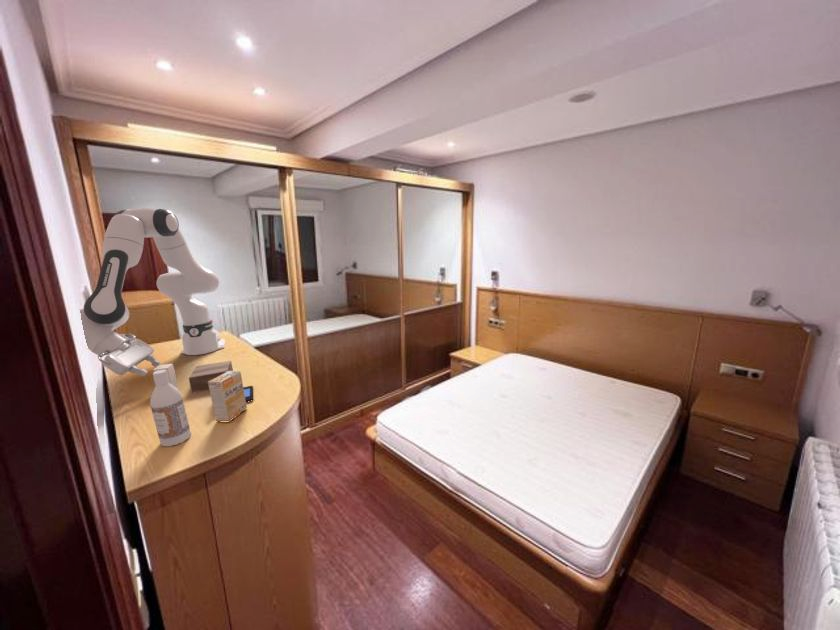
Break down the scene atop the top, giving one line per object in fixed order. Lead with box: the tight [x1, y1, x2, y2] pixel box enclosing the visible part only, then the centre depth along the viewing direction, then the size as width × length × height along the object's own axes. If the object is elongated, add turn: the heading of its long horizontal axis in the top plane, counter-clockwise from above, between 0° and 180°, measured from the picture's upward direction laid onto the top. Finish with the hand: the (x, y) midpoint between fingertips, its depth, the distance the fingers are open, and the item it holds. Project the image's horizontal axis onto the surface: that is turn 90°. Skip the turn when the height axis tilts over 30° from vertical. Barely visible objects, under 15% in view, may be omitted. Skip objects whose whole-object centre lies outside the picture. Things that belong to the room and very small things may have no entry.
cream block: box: [152, 363, 179, 389], centre depth 126 cm, size 4×4×9 cm
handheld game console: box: [216, 376, 254, 403], centre depth 117 cm, size 12×11×7 cm
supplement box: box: [208, 370, 248, 422], centre depth 105 cm, size 8×5×13 cm, turn 168°
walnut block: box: [188, 360, 234, 394], centre depth 130 cm, size 12×12×6 cm
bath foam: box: [149, 370, 192, 447], centre depth 92 cm, size 7×7×20 cm
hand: (152, 369), depth 124 cm, fingers open, 8 cm apart
